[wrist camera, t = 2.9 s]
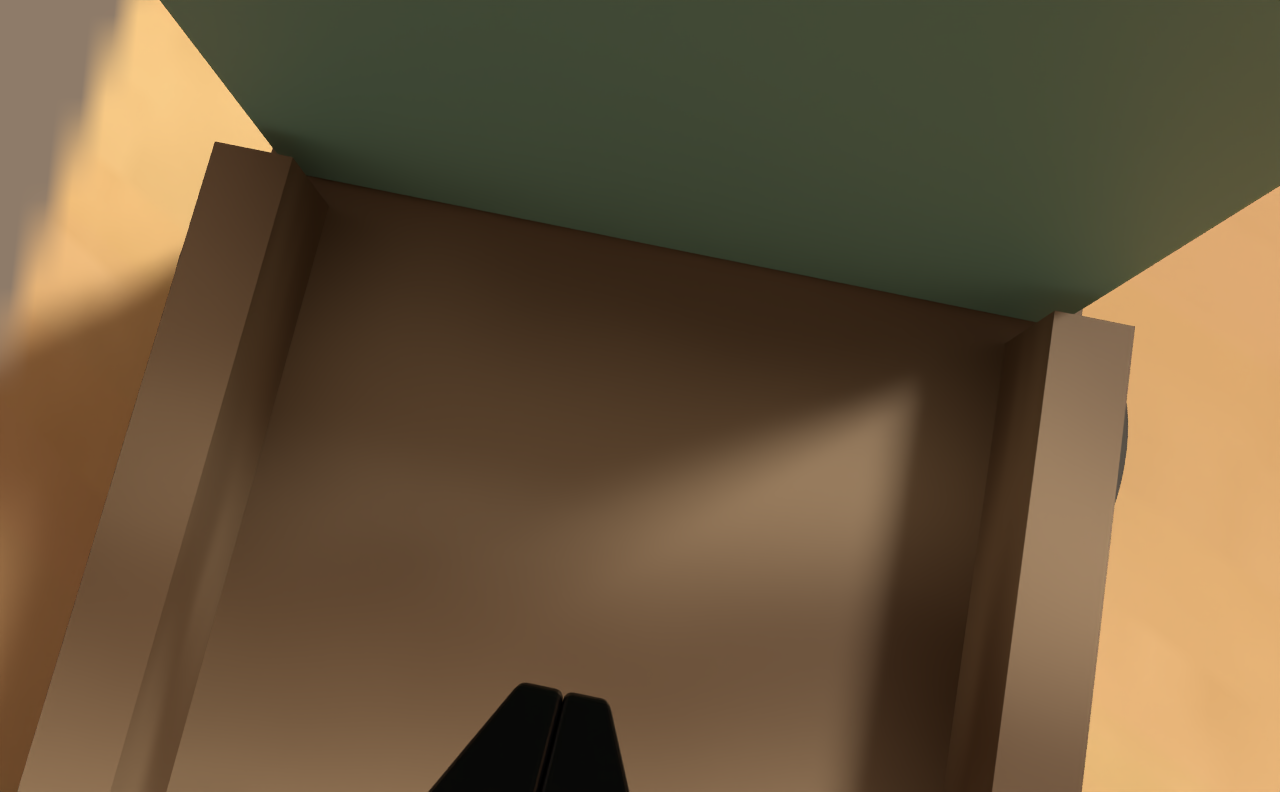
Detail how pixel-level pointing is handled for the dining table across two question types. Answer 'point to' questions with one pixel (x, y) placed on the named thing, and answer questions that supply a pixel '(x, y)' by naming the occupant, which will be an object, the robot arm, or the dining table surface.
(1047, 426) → the cart
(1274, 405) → the dining table surface
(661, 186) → the panel
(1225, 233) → the dining table surface
